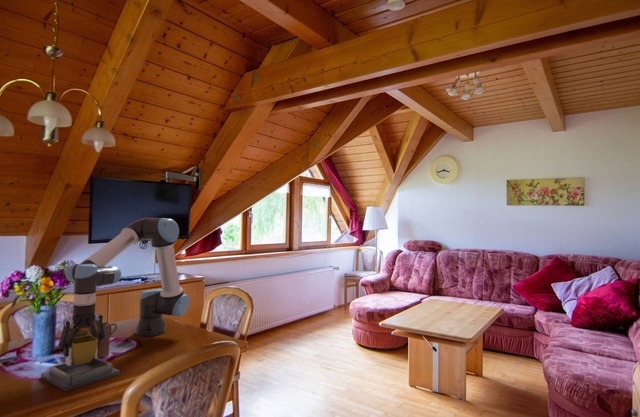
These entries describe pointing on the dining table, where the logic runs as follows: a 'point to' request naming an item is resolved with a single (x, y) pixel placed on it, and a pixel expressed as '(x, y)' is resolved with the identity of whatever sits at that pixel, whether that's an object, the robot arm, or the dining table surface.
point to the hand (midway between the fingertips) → (81, 360)
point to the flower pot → (83, 349)
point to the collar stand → (79, 374)
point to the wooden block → (102, 340)
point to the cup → (85, 330)
